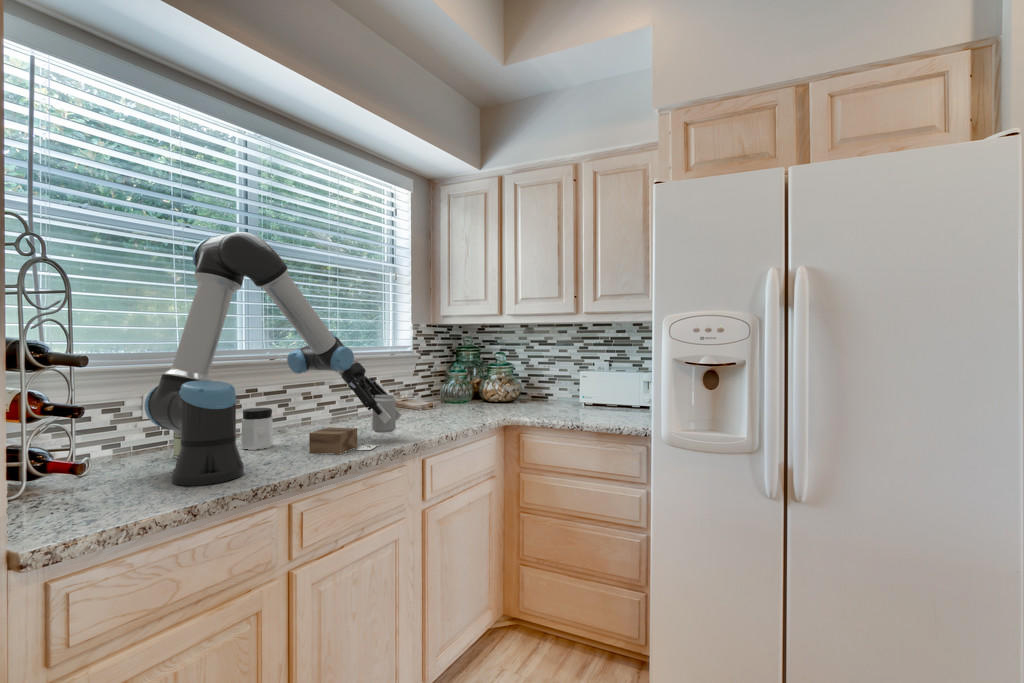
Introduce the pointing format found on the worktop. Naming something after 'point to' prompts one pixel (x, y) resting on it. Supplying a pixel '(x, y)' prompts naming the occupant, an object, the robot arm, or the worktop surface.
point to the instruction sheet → (370, 446)
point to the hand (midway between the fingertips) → (393, 419)
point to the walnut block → (332, 440)
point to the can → (390, 407)
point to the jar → (257, 428)
